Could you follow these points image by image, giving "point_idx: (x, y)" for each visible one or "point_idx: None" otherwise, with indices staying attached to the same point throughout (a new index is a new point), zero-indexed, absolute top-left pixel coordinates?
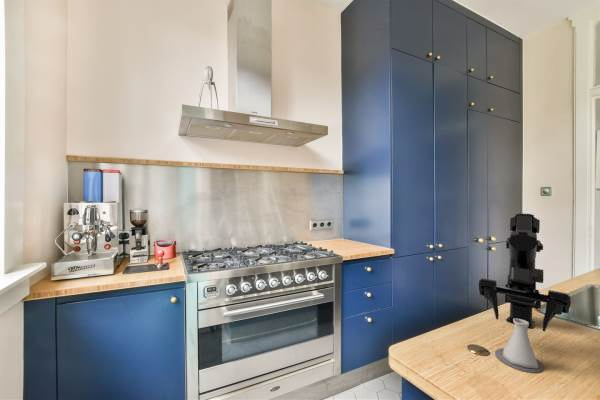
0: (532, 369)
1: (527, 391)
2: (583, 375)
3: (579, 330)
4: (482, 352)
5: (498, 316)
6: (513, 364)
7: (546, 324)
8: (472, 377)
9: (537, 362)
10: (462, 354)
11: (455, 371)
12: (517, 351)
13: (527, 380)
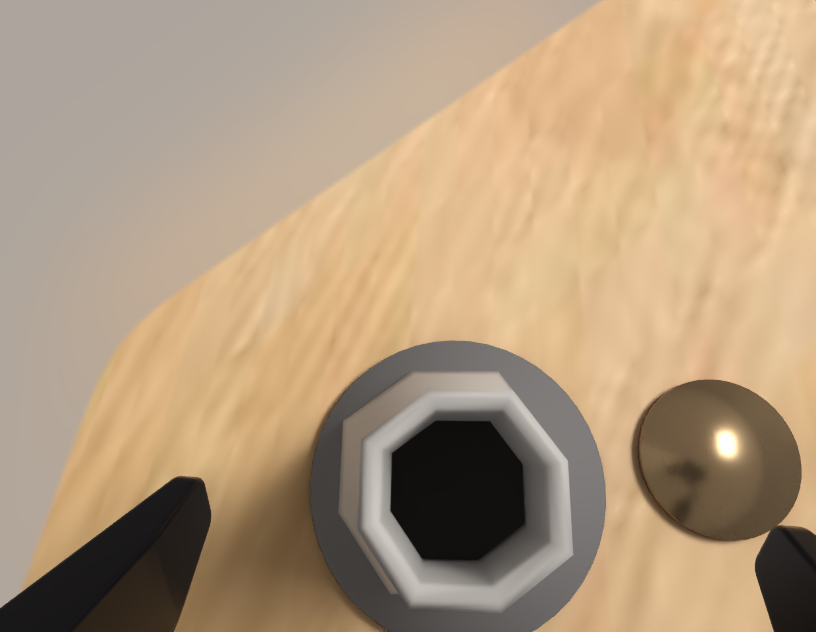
0: (378, 391)
1: (424, 146)
2: None
3: None
4: (682, 429)
5: (782, 628)
6: None
7: (113, 527)
8: (673, 96)
9: (335, 526)
10: (789, 315)
11: (762, 93)
12: (470, 389)
13: (416, 253)
